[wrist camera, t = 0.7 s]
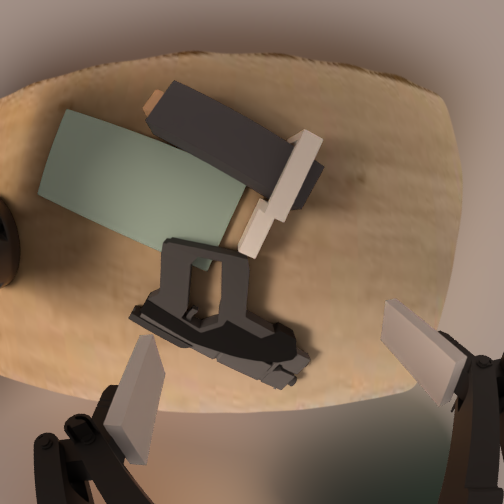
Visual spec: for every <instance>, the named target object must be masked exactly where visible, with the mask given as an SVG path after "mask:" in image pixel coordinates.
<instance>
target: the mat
mask: <svg viewBox="0 0 504 504" xmlns="http://www.w3.org/2000/svg"><path fill="white" fill-rule="evenodd" d="M245 187H246V185H244V184H243V183H241V182H239V181H238V180H236V179H234V178H232V177H231V176H229V175H227V174H225V173H224V172H222V171H220V170H218V169H217V168H215V167H213V166H211V165H210V164H208V163H206V162H204V161H202V160H201V159H199V158H197V157H195V156H193V155H192V154H190V153H187V152H185V151H182V150H180V149H177V148H175V147H172V146H170V145H167V144H165V143H162V142H160V141H157V140H155V139H152V138H149V137H147V136H144V135H142V134H139V133H136V132H134V131H131V130H128V129H125V128H123V127H120V126H117V125H114V124H111V123H108V122H106V121H103V120H100V119H97V118H94V117H91V116H88V115H85V114H82V113H79V112H75V111H72V110H69V109H66V112H65V114H64V116H63V119H62V121H61V124H60V126H59V129H58V131H57V134H56V136H55V139H54V142H53V145H52V147H51V150H50V153H49V156H48V159H47V162H46V165H45V169H44V172H43V175H42V179H41V182H40V186H39V190H38V195H40V196H42V197H44V198H46V199H48V200H50V201H52V202H54V203H56V204H58V205H60V206H62V207H64V208H66V209H69V210H71V211H73V212H75V213H77V214H79V215H81V216H83V217H85V218H87V219H90V220H92V221H94V222H96V223H98V224H100V225H102V226H105V227H107V228H109V229H111V230H113V231H115V232H118V233H120V234H122V235H124V236H126V237H129V238H131V239H133V240H135V241H138V242H140V243H142V244H144V245H147V246H149V247H151V248H153V249H156V250H158V251H160V252H161V251H162V245H163V242H164V241H165V240H166V238H170V239H171V238H172V237H173V238H178V239H183V240H188V241H193V242H198V243H203V244H207V245H212V246H216V247H218V246H219V244H220V241H221V239H222V237H223V235H224V233H225V230H226V228H227V226H228V224H229V222H230V219H231V217H232V215H233V213H234V211H235V209H236V206H237V204H238V202H239V200H240V198H241V196H242V193H243V191H244V189H245ZM211 262H212V260H211V259H206V258H201V257H197V258H196V259H195V260H194V262H193V263H192V265H193V266H195V267H197V268H200V269H202V270H205V271H208V268H209V266H210V264H211Z"/></svg>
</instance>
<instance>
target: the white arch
mask: <svg viewBox="0 0 504 504" xmlns="http://www.w3.org/2000/svg"><path fill="white" fill-rule="evenodd" d="M323 140H324V139H322V138H320V137H319V136H317V135H315V134H313V133H311V132H310V131H308V130H306V129H304V130H303V131H301V132H299V133H297V134H296V135H294V136H292V137H290V138H289V139H288V140H287V142H288V143H290V144H291V145H293V146H294V149H293V151H292V153H291V155H290V157H289V159H288V161H287V163H286V165H285V168H284V170H283V172H282V174H281V176H280V178H279V180H278V182H277V184H276V186H275V188H274V191H273V193H272V195H271V197H270V199H269V201H266V200H263V199H261V198H259V201H258V203H257V205H256V207H255V209H254V211H253V213H252V215H251V217H250V220H249V222H248V224H247V226H246V228H245V230H244V232H243V235H242V237H241V239H240V241H239V243H238V245H237V246H238V251H239V252H240V253H242V254H245V255H247V256H249V257H252V258H254V259H255V258H256V256H257V254H258V252H259V250H260V248H261V246H262V244H263V242H264V240H265V238H266V236H267V233H268V231H269V229H270V227H271V225H272V223H273V221H274V219H277V220H279V221H281V222H283V223H284V221H285V219H286V217H287V215H288V213H289V211H290V209H291V207H292V205H293V203H294V201H295V199H296V197H297V194H298V192H299V190H300V188H301V186H302V184H303V182H304V180H305V178H306V176H307V174H308V171H309V169H310V167H311V165H312V163H313V161H314V159H315V157H316V154H317V152H318V150H319V148H320V146H321V144H322V142H323Z"/></svg>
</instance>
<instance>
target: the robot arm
mask: <svg viewBox="0 0 504 504" xmlns="http://www.w3.org/2000/svg"><path fill="white" fill-rule="evenodd" d="M19 258H20V246H19V237H18V232H17V228H16V225H15V222H14V219H13V217H12V214H11V212H10V211H9V209H8V207H7V206H6V204H5V203H4V202H3V201H2V200H1V199H0V289H1V288H2V287H4V286H6V285H7V284H9V283H10V282H11V281H12V280H13V278H14V277H15V275H16V272H17V269H18V265H19ZM381 341H382V342H383V343H384V344H385V345H386V346H387V348H388V349H389V350H390V351H391V352H392V353H393V354H394V355H395V357H396V358H397V359H398V360H399V361H400V362H401V363H402V365H403V366H404V367H405V368H406V369H407V370H408V371H409V373H410V374H411V375H412V376H413V377H414V378H415V380H416V381H417V382H418V383H419V384H420V385H421V387H422V388H423V389H424V390H425V391H426V393H427V394H428V395H429V396H430V397H431V398H432V400H433V401H434V402H435V403H436V404H437V406H438V407H440V406H442V405H444V404H446V403H447V402H450V400H451V398H452V395H453V393H455V394H456V395H457V399H456V401H455V403H454V405H453V407H452V410H451V412H453V410H454V409H455V414H454V423H453V431H452V439H451V445H450V451H449V457H448V462H447V467H446V472H445V476H444V481H443V485H442V489H441V492H440V496H439V500H438V504H502V503H503V496H504V493H503V492H504V491H503V489H502V488H498V486H497V482H498V472H499V457H500V446H501V451H502V455H503V460H504V353H503V355H502V358H501V359H497V360H491V358H489V357H487V356H484V355H478V356H474V355H473V354H471V353H470V352H469V351H468V350H467V349H466V348H464V347H463V346H462V345H461V344H459V343H458V342H457V341H456V340H454V339H453V338H452V337H451V336H450V335H449V334H447V333H444V332H442V331H436V330H435V329H434V328H432V327H431V326H430V325H429V324H428V323H426V322H425V321H424V320H423V319H421V318H420V317H419V316H418V315H416V314H415V313H414V312H413V311H411V310H410V309H409V308H408V307H406V306H405V305H404V304H403V303H401V302H400V301H399V300H398V299H396V298H394V299H390V300H386V301H385V309H384V318H383V326H382V333H381ZM164 378H165V371H164V368H163V365H162V362H161V359H160V355H159V352H158V349H157V346H156V342H155V339H154V336H153V334H152V335H140V337H139V339H138V341H137V343H136V346H135V348H134V350H133V352H132V355H131V357H130V359H129V362H128V364H127V366H126V369H125V371H124V373H123V376H122V378H121V381H120V383H119V385H109V386H108V387H107V388H106V389H105V390H104V391H103V393H102V395H101V398H100V401H99V402H98V404H97V407H96V409H95V411H94V414H93V416H92V418H91V417H90V416H89V415H86V414H76V415H74V416H72V417H70V418H69V419H68V420H67V421H66V422H65V425H64V431H65V432H66V434H67V435H68V436H69V438H70V439H65V440H59V439H58V438H57V437H56V436H55V435H54V434H52V433H43V434H41V435H40V436H38V437H37V438H36V440H35V442H34V475H35V488H36V497H37V504H94V500H93V497H92V493H91V489H90V485H89V481H88V480H93V482H94V483H95V485H96V487H97V489H98V490H99V492H100V494H101V495H102V497H103V499H104V500H105V502H106V503H107V504H154V503H153V502H152V500H151V499H150V498H149V497H148V496H147V494H146V493H145V492H144V491H143V489H142V488H141V487H140V486H139V484H138V483H137V482H136V481H135V479H134V478H133V477H132V475H131V474H130V472H129V471H128V470H127V468H126V467H125V466H124V459H125V458H126V459H127V460H128V462H129V463H130V464H136V465H137V464H138V465H147V459H148V454H149V449H150V443H151V438H152V433H153V428H154V423H155V418H156V414H157V409H158V404H159V400H160V395H161V391H162V386H163V382H164Z"/></svg>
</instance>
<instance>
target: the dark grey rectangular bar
mask: <svg viewBox="0 0 504 504" xmlns="http://www.w3.org/2000/svg"><path fill="white" fill-rule="evenodd" d="M142 109H143V110H144V112H145V114H146V116H148V117H147V118H146V120H145V121H146V123H147V124H148V126H149V128H150V129H151V131H152V133H153V134H154V135H156V136H158V137H160V138H162V139H164V140H165V141H167V142H169V143H171V144H173V145H175V146H177V147H179V148H180V149H182V150H184V151H186V152H188V153H190V154H192V155H193V156H195V157H197V158H199V159H201V160H202V161H204V162H206V163H208V164H210V165H211V166H213V167H215V168H217V169H218V170H220V171H222V172H224V173H225V174H227V175H229V176H231V177H232V178H234V179H236V180H238V181H239V182H241V183H243V184H244V185H246V186H248V187H250V188H251V189H253V190H255V191H256V192H258V193H260V194H261V195H263V196H265V197H266V198H268V199H270V197H271V195H272V193H273V191H274V188H275V186H276V184H277V182H278V180H279V178H280V176H281V174H282V172H283V170H284V168H285V165H286V163H287V161H288V159H289V157H290V155H291V153H292V151H293V149H294V146H293V145H291V144H290V143H288V142H287V141H285V140H283V139H282V138H280V137H279V136H277V135H275V134H274V133H272V132H271V131H269V130H267V129H266V128H264V127H262V126H261V125H259V124H257V123H255V122H254V121H252V120H250V119H248V118H247V117H245V116H243V115H241V114H240V113H238V112H236V111H234V110H232V109H231V108H229V107H227V106H225V105H223V104H221V103H219V102H218V101H216V100H214V99H212V98H210V97H208V96H206V95H204V94H202V93H200V92H198V91H196V90H194V89H192V88H190V87H188V86H186V85H183V84H181V83H179V82H177V81H175V80H174V81H173V82H172V84H171V85H170V86H169V88H168V89H167V90H166V92H165V93H164V92H162V91H160V90H157V89H156V90H155V91H154V92H153V94H152V95H151V97H150V98H149V99H148V101H147V102H146V104H145V105H144V106H143V108H142ZM323 169H324V166H323V165H321V164H320V163H318V162H317V161H316V160H314V161H313V163H312V165H311V167H310V169H309V171H308V174H307V176H306V178H305V180H304V182H303V184H302V186H301V188H300V190H299V192H298V194H297V197H296V199H295V201H294V203H293V205H292V207H291V209H290V210H296V209H302V207H303V205H304V204H305V202H306V200H307V198H308V196H309V195H310V193H311V191H312V189H313V187H314V185H315V184H316V182H317V180H318V178H319V176H320V174H321V173H322V171H323Z"/></svg>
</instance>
